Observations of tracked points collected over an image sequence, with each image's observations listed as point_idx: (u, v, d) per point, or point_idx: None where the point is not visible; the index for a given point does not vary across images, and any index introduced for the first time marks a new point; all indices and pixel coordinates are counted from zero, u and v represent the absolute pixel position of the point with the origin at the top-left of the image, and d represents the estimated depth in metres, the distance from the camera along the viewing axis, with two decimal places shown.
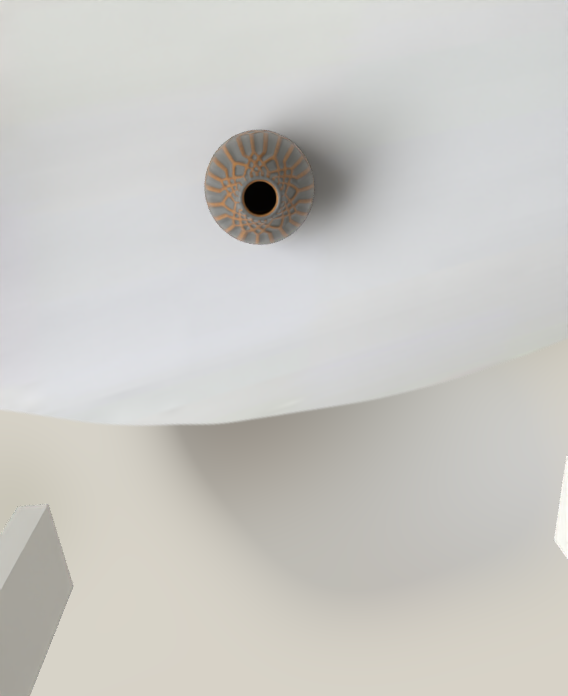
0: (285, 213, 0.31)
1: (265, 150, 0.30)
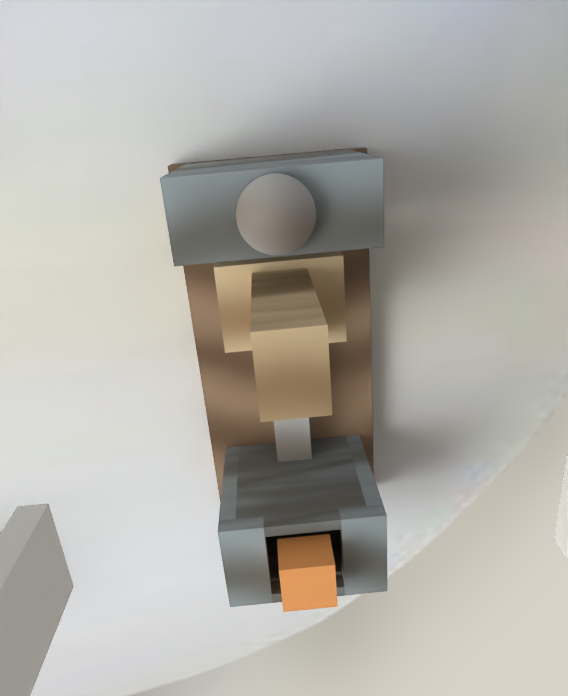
0: None
1: None
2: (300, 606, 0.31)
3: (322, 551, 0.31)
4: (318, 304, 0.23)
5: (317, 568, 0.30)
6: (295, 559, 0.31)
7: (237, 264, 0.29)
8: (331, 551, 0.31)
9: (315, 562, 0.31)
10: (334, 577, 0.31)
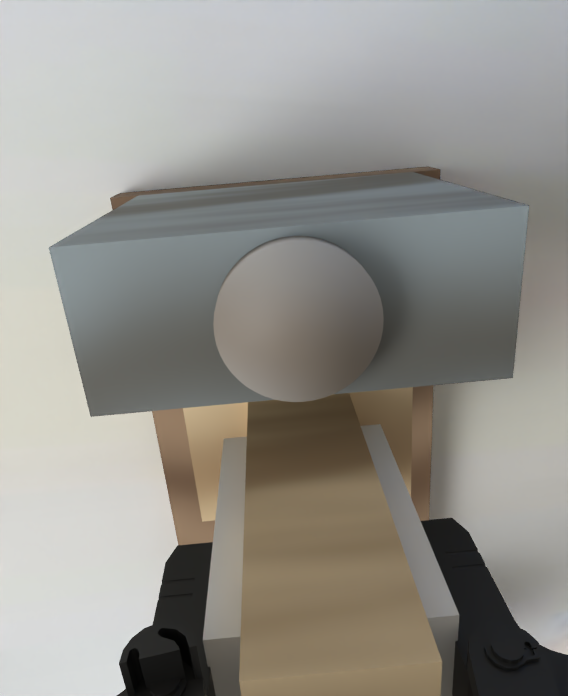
0: None
1: None
2: None
3: None
4: (395, 537, 0.10)
5: None
6: None
7: None
8: None
9: None
10: None
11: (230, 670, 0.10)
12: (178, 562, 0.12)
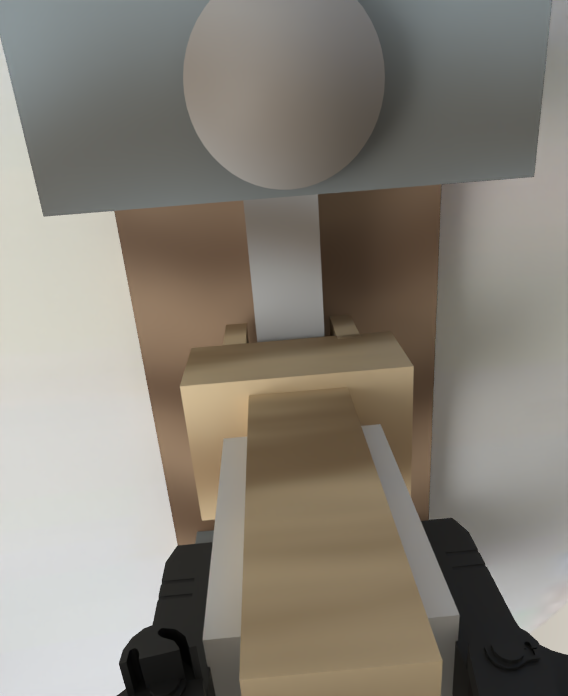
0: None
1: None
2: None
3: None
4: (396, 536, 0.10)
5: None
6: None
7: (223, 380, 0.16)
8: None
9: None
10: None
11: (230, 670, 0.10)
12: (178, 562, 0.12)
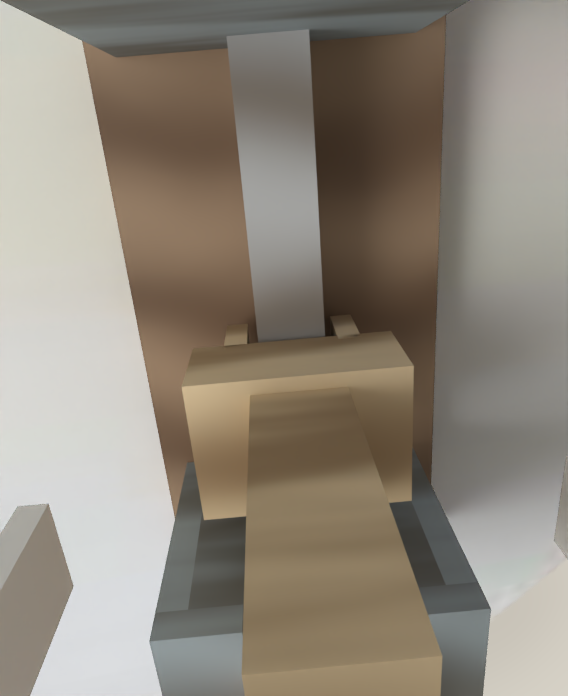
0: None
1: None
2: None
3: None
4: (396, 534, 0.10)
5: None
6: None
7: (224, 380, 0.16)
8: None
9: None
10: None
11: None
12: None
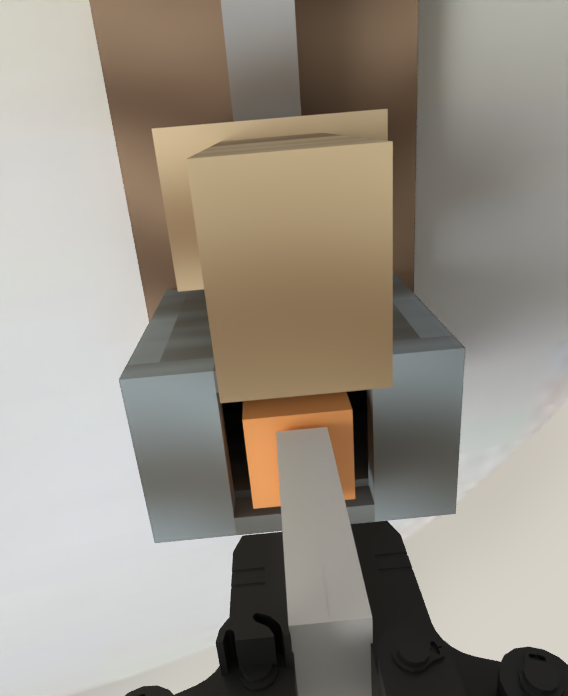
0: None
1: None
2: None
3: (326, 393, 0.17)
4: (356, 137, 0.10)
5: (318, 417, 0.16)
6: (276, 404, 0.16)
7: (195, 125, 0.16)
8: (344, 393, 0.16)
9: (315, 408, 0.16)
10: (350, 437, 0.16)
11: (313, 655, 0.10)
12: (246, 552, 0.12)
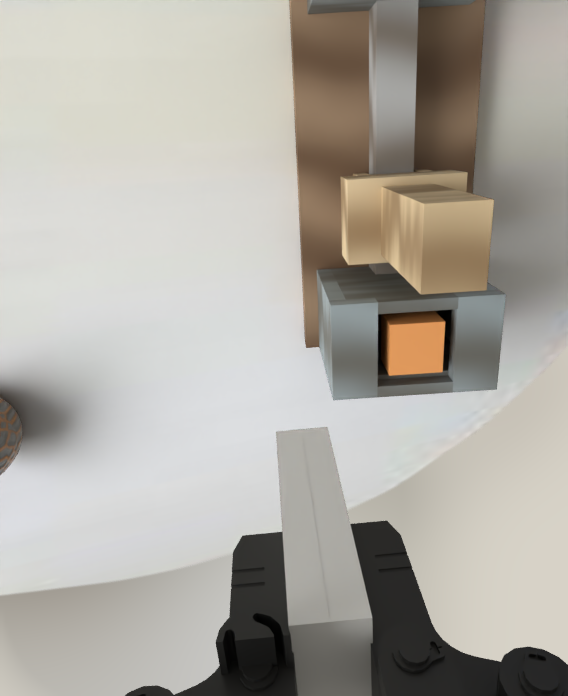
0: None
1: None
2: (406, 369, 0.32)
3: (429, 316, 0.32)
4: (470, 193, 0.25)
5: (428, 325, 0.31)
6: (404, 320, 0.32)
7: (368, 178, 0.31)
8: (438, 316, 0.32)
9: (425, 321, 0.31)
10: (443, 336, 0.31)
11: (313, 656, 0.10)
12: (246, 552, 0.12)
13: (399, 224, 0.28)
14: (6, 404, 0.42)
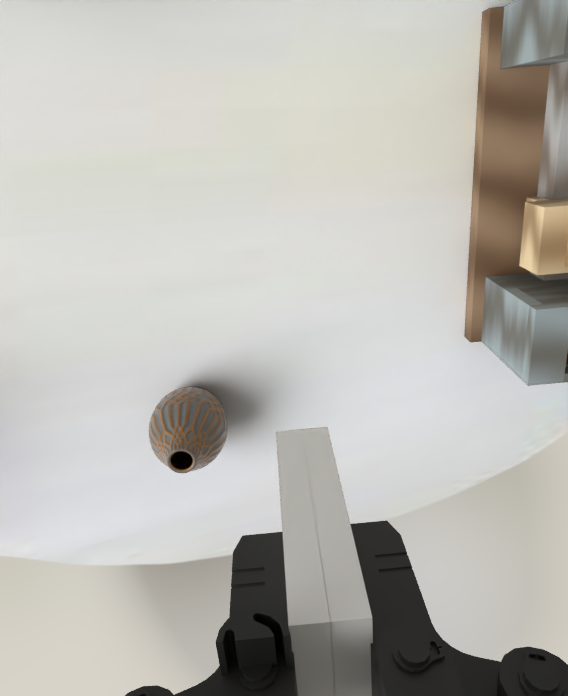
0: (201, 462, 0.45)
1: (187, 421, 0.45)
2: None
3: None
4: None
5: None
6: None
7: (560, 205, 0.39)
8: None
9: None
10: None
11: (313, 656, 0.10)
12: (246, 551, 0.12)
13: None
14: None
